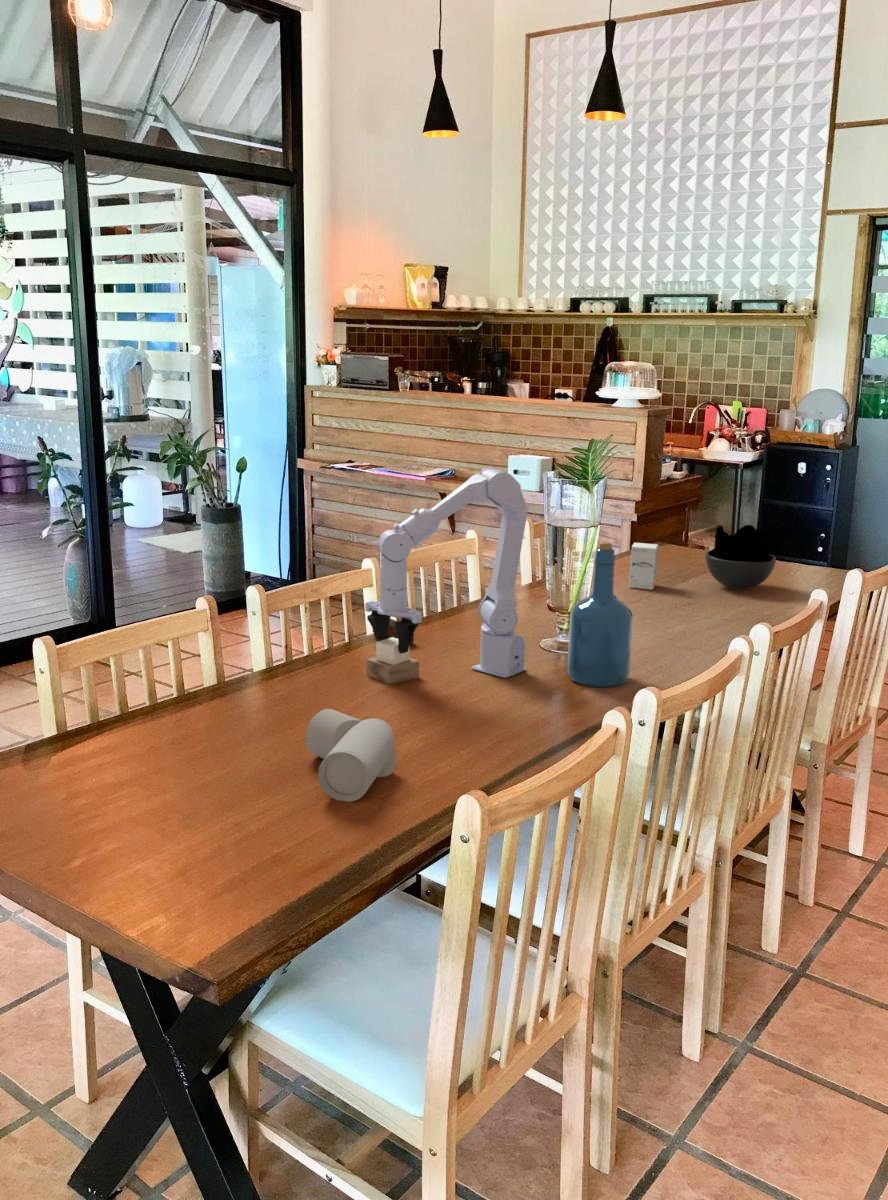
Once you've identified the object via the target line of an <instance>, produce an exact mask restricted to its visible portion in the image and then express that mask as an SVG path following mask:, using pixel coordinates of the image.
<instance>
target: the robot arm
mask: <svg viewBox="0 0 888 1200" xmlns="http://www.w3.org/2000/svg"><path fill="white" fill-rule="evenodd" d="M489 500H490V501H491V502H492V503H493V504H494V505H495V506H496V508H497V509H498V510H499V511H500V513H501V515H502V516H501V521H500V526H499V533H498V538H497V543H496V551H495V557H494V562H493V568H492V573H491V579H490V584H489V586H488V587H487V588H486V590H485V594H484V597H483V599H482V600H481V602H479V606H478V610H477V612H478V616H479V618H480V620H482V625H481V626H480V647H479V648H480V653H479V654H480V655H479V663H478V664H475V665H473V666H471V670H474V671H477V672H481V673H486V674H488V675H489V674H490V675H493V676H496V677H500V678H503V679H504V678H505V679H506V678H510V677H512V676H515V675H517V674H519V673H522V672H524V671H526V670H527V668H526V667H525V655H526V654H525V651H526V643H525V639H524V637H522V636H521V635H519V634H517V633H516V632H515V629H516V626H517V625H518V621H519V620H518V619H519V618H518V613H517V609H516V608H517V597H516V594H515V588H516V587H515V585H516V582H517V581H516V580H517V574H518V569H519V564H520V558H521V557H520V556H521V551H522V545H523V541H524V540H523V539H524V535H525V528H526V524H527V517H528V511H529V510H528V505H527V503H526V500H525V498H524V495H523V492H522V490H521V484H520V482H519V481H517V479H516V478H515V477H514V476H513V475H512V474H511V473H508V472H505V471H502V470H500V469H498V468H497V467H490V466H489V467H485V468H483V469H481V471H480V472H479V473H476V474H473V475H472V476H470V477H469V478H468V479H467V480H465V481H464V482H463V483H462V484H460V486H458V487H457V488H456V489H454V490H453V491H451V493H449V494H448V495H447V496H445V497H444V498H443V499H441V501H439V502H438V503H437V504H436V505H434V506H433V507H431V508H429V509H428V508H425V507H424V508H423V507H422V508H419V510H418V509H417V508H415V509H414V510H413V511H411V512H410V513H411V514H412V515H410V516H408V518H406V519H405V520H403V521H402V522H400V523H399V524H398V523H395V524H394V525H393V526H392V527H393V528H394V529H387V530H385V531H383V532H382V533H381V534H380V535H379V538H378V541H377V542H376V546H377V550H378V551H379V552H380V559H379V560H380V563H379V564H380V565H379V601H374V600H371V601H367V602H365V612H366V613H367V612H368V613H370V612H371V613H370V614H369V615H367V617H366V618H367V621H368V622H369V624H370V626H371V628H372V632H373V631H374V633H375V637H376V638H375V637H374V638H375V640H376V642H378V641H381V640H385V639H388V626H389V621H390V619H392V618H395V619H396V618H397V619H400V620H399V621H398V620H397V621H398V622H395V627H396V630H397V634H398V647H399V653H405V652H408V649H409V650H410V647H409V645H411V644H410V642H411V638H412V636H413V633H415V631H416V629H417V628H418V626H419V625H420V623H422V622H423V613H422V612H419V611H416V610H415V609H413V608H410V607H409V606H408V605H407V603H408V600H407V599H408V597H407V596H408V595H407V594H408V566H407V558H408V557H409V555H410V553H411V550H412V549H413V548H415V547H417V546H418V545H419V544H421V543H423V542H424V541H425V540H427V539H428V538H430V537H431V536H432V535H434V534H435V533H436V532H438V530H439V527H440V523H441V522H442V521H444V520H445V519H447V518H448V517H450V516H451V515H453V514H455V513H456V512H458V511H459V510H461V509H462V508H464V507H465V506H467V505H469V504H470V503H472V502H475V503H476V502H478V503H479V502H481V503H483V502H485V503H486V502H489ZM391 617H392V618H391ZM374 633H373V634H374Z"/></svg>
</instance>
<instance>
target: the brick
mask: <svg viewBox="0 0 888 1200" xmlns="http://www.w3.org/2000/svg"><path fill="white" fill-rule="evenodd" d="M395 622H398V620H394V619H392V618H390V621H389V626H388V638H391V637H393V638H397V639H398V634H397V630H396V627H395ZM372 633H373V636H374V635H375V633H374V631H373V630H372ZM414 633H415V632H414ZM414 633H413V636H412V638H411V642H410V645H412V644H413V643H414V641H415V638H414V636H415V635H414Z"/></svg>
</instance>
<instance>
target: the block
mask: <svg viewBox="0 0 888 1200" xmlns="http://www.w3.org/2000/svg"><path fill="white" fill-rule="evenodd" d="M410 645H411V644H410ZM410 645H409V649H408V652H405V653H399V647H398V639H397V638H393V637H391V638H388V639H385V640H381V641H378V642H377V641H376V648H375V649H376V650H375V651H376V656H375V657H376V660H378V661H382V662H385V663H389V664H392V665H395V664H398V663H401V662H404V661H407V660H409V657H410Z"/></svg>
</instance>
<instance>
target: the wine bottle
mask: <svg viewBox="0 0 888 1200" xmlns="http://www.w3.org/2000/svg"><path fill="white" fill-rule="evenodd" d="M615 558H616V555H615V549H613V543H612V542H610V541H600V542H599V543H598V548H596V549H595V555H594V561H593V564H594V571H593V580H592V590H591V594H590V595H588V596H587V597H584V598H583V599H581V600H580V601H578V602H577V603H575V604H574V605H573V607H572V608H571V611H570V614H569V630H568V633H569V634H568V650H567V653H568V654H567V669H566V671H567V674H568V676H569V677H570V680H571V681H573V682H575V683H578V684H580V685H583V686H589V687H595V688H610V687H614V686H621V685H624V683H626V682H627V681H628V679H629V677H630V671H631V669H630V668H631V655H632V639H633V624H634V623H633V622H634V616H633V613H632V611H631V609H630V608H629V607H628V605H627V604H626V603H625V602H624V601H622V600H620V599H619V598H618V596H616V595H615V594H614V586H615V585H614V582H615V581H614V579H615V578H614V577H615V575H614V574H615V573H614V572H615V565H616V563H615V562H616V560H615Z"/></svg>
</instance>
